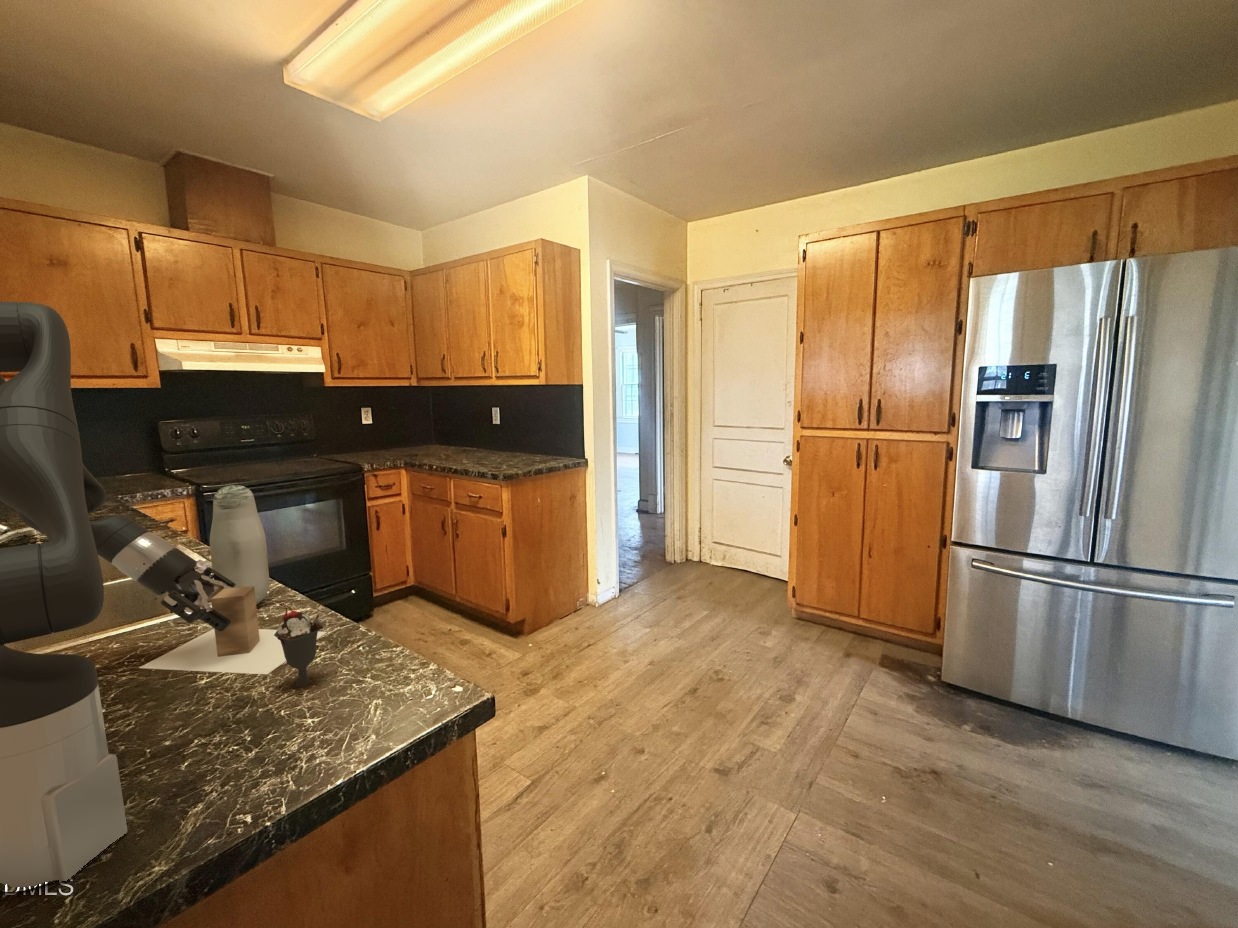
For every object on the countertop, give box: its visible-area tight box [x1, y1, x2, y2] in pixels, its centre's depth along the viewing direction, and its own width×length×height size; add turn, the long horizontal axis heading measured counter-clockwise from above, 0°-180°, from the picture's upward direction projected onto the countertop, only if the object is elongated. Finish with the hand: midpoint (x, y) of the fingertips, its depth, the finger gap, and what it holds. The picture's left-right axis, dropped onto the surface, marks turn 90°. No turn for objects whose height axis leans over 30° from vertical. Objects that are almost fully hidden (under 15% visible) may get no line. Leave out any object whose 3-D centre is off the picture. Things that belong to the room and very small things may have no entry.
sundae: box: [274, 602, 324, 697], centre depth 86 cm, size 7×7×15 cm
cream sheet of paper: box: [138, 628, 328, 675], centre depth 98 cm, size 24×16×1 cm, turn 85°
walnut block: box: [210, 586, 260, 657], centre depth 98 cm, size 5×5×11 cm
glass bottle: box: [209, 484, 270, 606], centre depth 118 cm, size 10×10×28 cm
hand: (237, 617), depth 98 cm, fingers open, 8 cm apart
